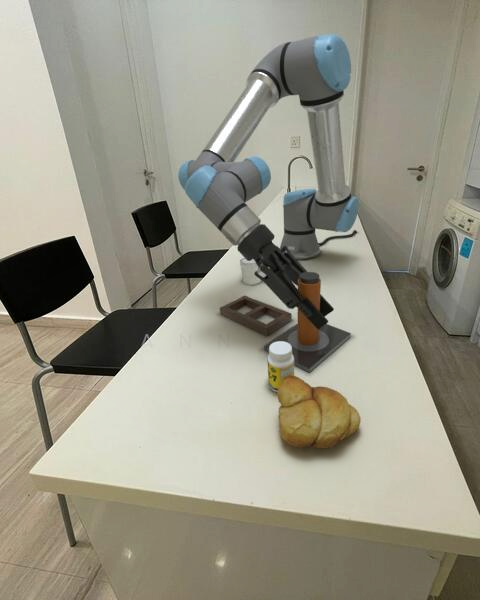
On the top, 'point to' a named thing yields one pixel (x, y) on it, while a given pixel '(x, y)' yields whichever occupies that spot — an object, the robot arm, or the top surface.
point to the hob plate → (312, 345)
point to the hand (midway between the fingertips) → (326, 318)
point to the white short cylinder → (249, 271)
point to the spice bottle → (311, 289)
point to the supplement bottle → (279, 363)
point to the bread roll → (314, 414)
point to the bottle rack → (256, 315)
